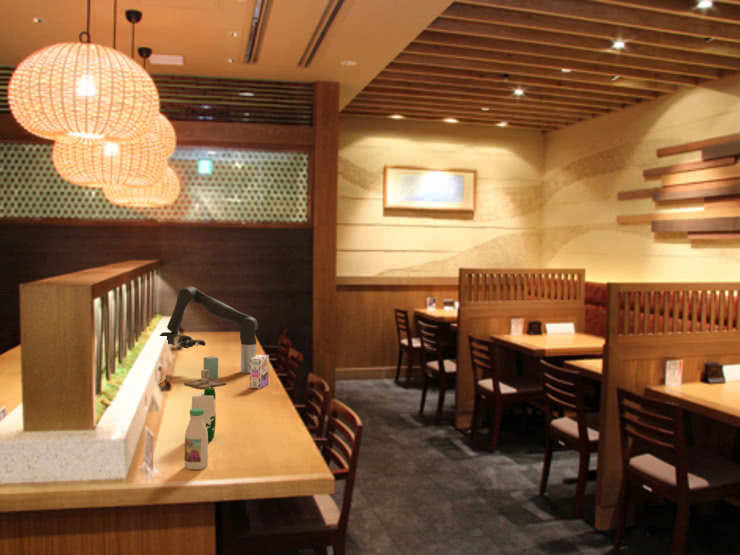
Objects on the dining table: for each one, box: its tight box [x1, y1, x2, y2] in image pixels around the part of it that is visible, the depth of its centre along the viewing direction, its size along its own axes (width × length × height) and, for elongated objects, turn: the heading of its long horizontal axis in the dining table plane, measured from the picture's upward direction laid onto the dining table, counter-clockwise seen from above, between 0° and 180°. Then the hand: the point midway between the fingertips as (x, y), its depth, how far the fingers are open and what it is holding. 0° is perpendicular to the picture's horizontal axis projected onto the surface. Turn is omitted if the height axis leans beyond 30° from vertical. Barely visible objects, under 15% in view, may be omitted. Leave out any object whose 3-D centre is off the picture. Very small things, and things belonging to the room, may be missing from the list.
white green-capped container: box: [191, 387, 217, 442], centre depth 249 cm, size 9×9×20 cm
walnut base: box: [183, 369, 227, 390], centre depth 346 cm, size 16×16×8 cm
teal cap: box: [203, 356, 219, 380], centre depth 363 cm, size 6×6×12 cm
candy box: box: [249, 354, 270, 390], centre depth 345 cm, size 14×6×16 cm, turn 168°
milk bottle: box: [184, 408, 209, 470], centre depth 218 cm, size 8×8×20 cm
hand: (198, 344), depth 370 cm, fingers open, 8 cm apart
